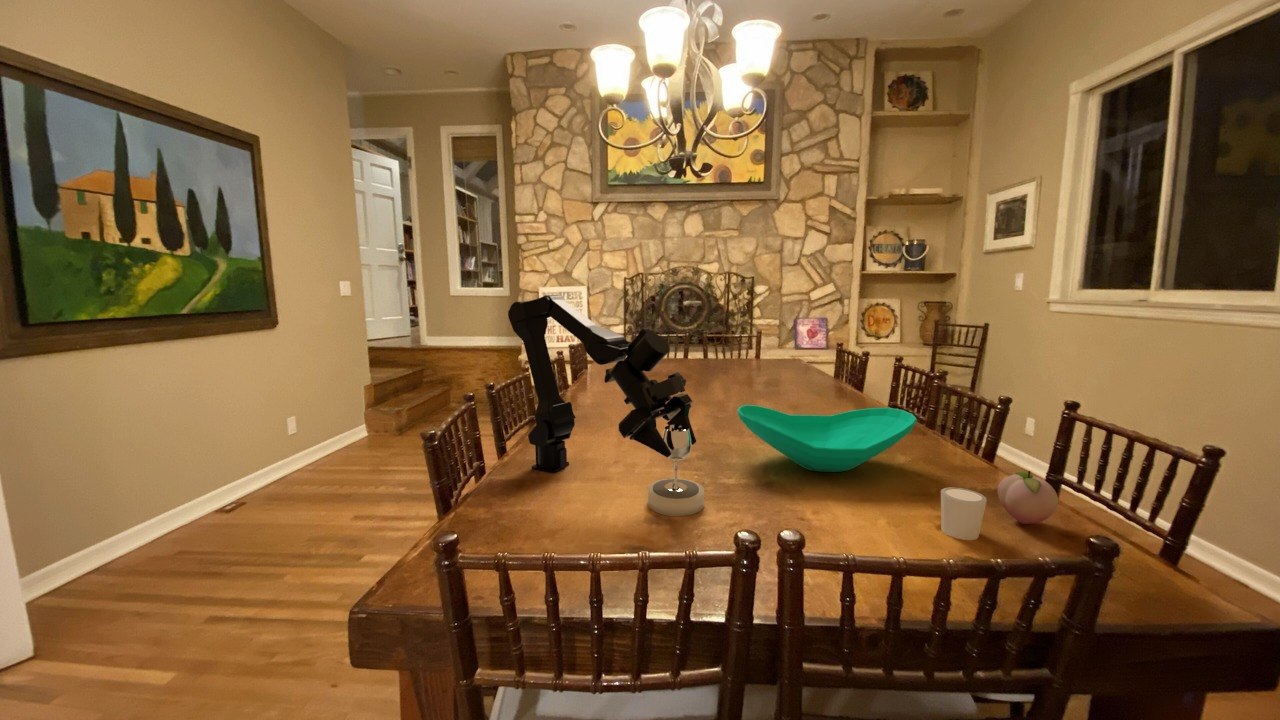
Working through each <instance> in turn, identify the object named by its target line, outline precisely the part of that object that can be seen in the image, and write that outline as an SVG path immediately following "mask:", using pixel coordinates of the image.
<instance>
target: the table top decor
mask: <svg viewBox="0 0 1280 720" xmlns="http://www.w3.org/2000/svg"><path fill="white" fill-rule="evenodd" d="M736 411H737V414H738V418H739V419H740V421H741V422H742V423H743V424H744V425H745V426H746V428H747V429H749V431H750V432H751V433H753V434H754V435H756V436H757V437H758V438H759V439H760V440H762V441H763V442H764V443H765V444H767V445H769V446H771V447H772V448H773V449H775V450H776V451H777V452H779V453H780V454H782V455H784V457H786V458H788V459H790V460H791V461H792V462H794V463H796V464H797V465H799V466H800V467H801V468H804V469H806V470H810V471H813V472H820V473H821V472H822V473H825V472H826V473H832V472H833V473H836V472H837V473H842V472H846V471H849V470H851V469H852V470H853V469H854V468H856V467H858V466H860V465H862V464H863V463H865V462H867V461H868V460H871V459H873V458H874V457H877V456H879V455H880V454H882V453H884V452H885V451H887V450H888V449H890V448H891V447H894V445H896V444H897V443H898V442H900V441H901V440H902V439H903V438H905V437H906V436H908V435H909V434H910V433H911V431H913V429H914V427H915V424H916V423H917V422H918V421H917V420H918V418H917V417H916V416H915V415H914V414H913V413H910V412H908V411H906V410H904V409H898V408H892V407H870V408H869V407H868V408H860V409H855V410H853V409H852V410H849V411H845V412H841V413H836V414H832V415H831V414H830V415H822V414H821V415H817V414H816V415H815V414H814V415H813V414H788V413H785V412H782V411H779V410H775V409H773V408H770V407H769V408H768V407H764V406H761V405H760V406H759V405H755V404H754V405H753V404H752V405H751V404H745V405H741V406H739V407H738V408H737V410H736Z"/></svg>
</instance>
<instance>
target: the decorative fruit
mask: <svg viewBox="0 0 1280 720" xmlns="http://www.w3.org/2000/svg"><path fill="white" fill-rule="evenodd" d="M997 495H998V498H999V501H1000V503H1001V506H1003V508H1004V510H1005V511H1006V513H1008V514H1009V515H1010V516H1012V518H1013V519H1015V520H1016V521H1018V522H1019V523H1020V524H1023V525H1031V524H1032V525H1033V524H1038V523H1042V522H1044V521H1047V520H1048V519H1050V518H1051V517H1052V515H1053V514H1054V513H1055V512H1056V510H1057V509H1058V505H1059V497H1058V493H1057V492H1056V490H1055V489H1054V487H1053V486H1052V485H1051V484H1050V483H1048V482H1047V481H1046V480H1044V479H1042V478H1040V477H1037V476H1034V475H1033V474H1031V471H1030V470H1028V471H1027V472H1024V471H1016V472H1015V473H1014V474H1010V475H1008V476H1005V477H1004V478H1003V479H1002V480H1001V481H1000V483H998V486H997Z"/></svg>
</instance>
